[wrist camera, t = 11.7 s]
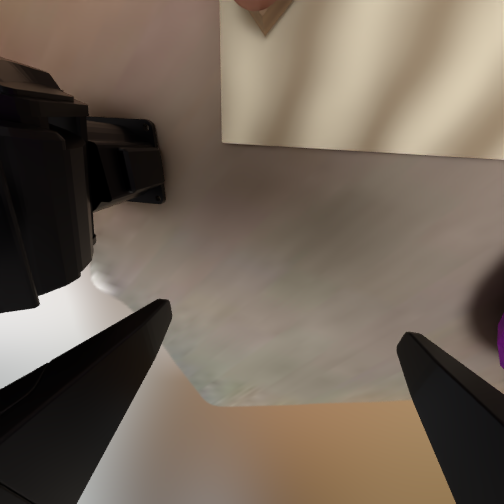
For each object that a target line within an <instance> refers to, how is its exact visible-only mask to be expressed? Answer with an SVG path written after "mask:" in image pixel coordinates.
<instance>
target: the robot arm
mask: <svg viewBox="0 0 504 504" xmlns="http://www.w3.org/2000/svg"><path fill="white" fill-rule="evenodd" d="M86 116H89V114H88V105H87V104H85V103H82V102H80V101H77V100H75V99H74V97H73V96H71V95H69V94H67V93H64V92H63V90H61V89H60V88H59V87H58V85H57V84H56V82H55V81H54V80H53V78H52V77H51V75H50V74H49V73H47V72H44V71H42V70H39V69H37V68H33V67H30V66H27V65H24V64H21V63H18V62H14V61H11V60H8V59H5V58H2V57H0V313H4V312H11V311H17V310H25V309H32V308H36V307H37V306H39V304H40V303H39V299H38V296H39V295H43V294H45V293H48V292H50V291H53V290H55V289H58V288H61V287H63V286H66V285H68V284H70V283H71V282H73V281H75V280H76V279H78V278H79V277H80V276H81V271H83V270H84V268H85V267H86V266H87V265H88V264H89V263H90V262H91V260H92V256H93V251H94V250H93V245H94V244H95V243H96V235H95V234H94V225H93V212H96V211H99V210H102V209H105V208H108V207H110V206H113V205H116V204H119V203H122V202H124V201H131V202H142V203H153V204H162V203H163V202H165V200H166V198H165V191H164V184H163V183H164V175H163V168H162V162H161V155H160V151H159V149H158V145H157V138H156V132H155V127H154V124H153V123H152V122H151V121H149V120H143V119H124V118H104V117H86ZM147 124H148V126H149V130H147V129H146V125H147ZM158 196H159V197H160V198H161V200H159V199H158ZM171 320H172V311H171V306H170V301H169V300H166V299H157V300H155V301H153V302H152V303H150V304H148V305H147V306H145V307H143V308H141V309H140V310H138V311H136V312H134V313H133V314H131V315H129V316H128V317H126V318H124V319H122V320H121V321H119V322H117V323H116V324H114V325H112V326H110V327H108V328H107V329H105V330H103V331H102V332H100V333H98V334H96V335H95V336H93V337H91V338H89V339H88V340H86V341H84V342H83V343H81V344H79V345H77V346H76V347H74V348H72V349H70V350H69V351H67V352H65V353H63V354H62V355H60V356H58V357H56V358H55V359H53V360H52V361H50V363H46V364H44V365H43V366H41V367H39V368H37V369H36V370H34V371H32V372H31V373H29V374H27V375H25V376H23V377H21V378H20V379H18V380H16V381H14V382H13V383H11V384H9V385H7V386H5V387H4V388H2V389H0V504H77V502H78V500H79V498H80V496H81V495H82V493H83V491H84V489H85V487H86V485H87V484H88V482H89V480H90V478H91V476H92V474H93V472H94V471H95V469H96V467H97V465H98V463H99V461H100V459H101V458H102V456H103V454H104V452H105V450H106V448H107V446H108V445H109V443H110V441H111V439H112V437H113V436H114V434H115V432H116V430H117V428H118V426H119V424H120V423H121V421H122V419H123V417H124V415H125V413H126V411H127V409H128V408H129V406H130V404H131V402H132V400H133V399H134V397H135V395H136V393H137V391H138V389H139V387H140V385H141V384H142V382H143V380H144V378H145V376H146V375H147V372H148V370H149V369H150V367H151V365H152V363H153V361H154V360H155V357H156V355H157V353H158V351H159V349H160V346H161V344H162V341H163V339H164V337H165V334H166V332H167V329H168V327H169V325H170V322H171ZM397 355H398V358H399V361H400V364H401V367H402V370H403V373H404V376H405V380H406V383H407V386H408V389H409V392H410V395H411V398H412V400H413V403H414V405H415V408H416V410H417V412H418V414H419V417H420V419H421V422H422V424H423V426H424V428H425V431H426V434H427V436H428V438H429V440H430V443H431V445H432V448H433V450H434V452H435V455H436V457H437V459H438V462H439V464H440V466H441V469H442V471H443V474H444V476H445V478H446V481H447V483H448V485H449V488H450V490H451V492H452V495H453V497H454V500H455V502H456V504H504V394H503V393H501V392H500V391H498V390H497V389H496V388H494V387H493V386H492V385H490V384H489V383H487V382H486V381H485V380H483V379H482V378H481V377H479V376H478V375H476V374H475V373H474V372H472V371H471V370H470V369H468V368H467V367H466V366H464V365H463V364H461V363H460V362H459V361H457V360H456V359H455V358H453V357H452V356H450V355H449V354H448V353H446V352H445V351H444V350H442V349H441V348H439V347H438V346H437V345H435V344H434V343H433V342H431V341H430V340H429V339H427V338H426V337H424V336H423V335H422V334H419V333H414V332H406V333H405V334H404V335H403V337H402V338H401V340H400V342H399V343H398V345H397Z"/></svg>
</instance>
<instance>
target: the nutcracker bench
mask: <svg viewBox="0 0 504 504" xmlns="http://www.w3.org/2000/svg"><path fill="white" fill-rule="evenodd" d="M220 57H221V117H222V143H233V144H250V145H267V146H283V147H300V148H317V149H333V150H350V151H367V152H383V153H400V154H417V155H434V156H450V157H467V158H484V159H500V160H504V0H293V1H292V2H291V4H290V5H289V6H288V7H287V9H286V10H285V11H284V13H283V14H282V15H281V16H280V18H279V19H278V20H277V22H276V23H275V24H274V25H273V27H272V28H271V29H270V31H269V32H268V33H267V35H266V36H264V34H263V33H262V31H261V30H260V28H259V26H258V25H257V23H256V22H255V20H254V19H253V17H252V16H251V14H250V13H249V11H248V10H246V9H244V8H242V7H241V6H239V5H238V4H237V3H236V2H235V1H234V0H220Z"/></svg>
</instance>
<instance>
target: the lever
mask: <svg viewBox="0 0 504 504" xmlns="http://www.w3.org/2000/svg"><path fill="white" fill-rule="evenodd" d="M234 1H235V2H236V3H237V4H238V5H239V6H241V7H242V8H244V9H246V10H248V11H249V13H250V14H251V16H252V17H253V19H254V20H255V22H256V23H257V25H258V26H259V28H260V30H261V31H262V33H263V34H264V36H266V35H267V33H268V32H269V31H270V29H271V28H272V27H273V25H274V24H275V23H276V22H277V20H278V19H279V18H280V16H281V15H282V14H283V13H284V11H285V10H286V9H287V7H288V6H289V5H290V4H291V2H292V1H293V0H234Z"/></svg>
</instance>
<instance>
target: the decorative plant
mask: <svg viewBox="0 0 504 504" xmlns="http://www.w3.org/2000/svg"><path fill="white" fill-rule="evenodd" d="M497 345H498V352H499V359H500V366H501V367H502V368H503V369H504V313H503V315H502V317H501V319H500V321H499V324H498V335H497Z"/></svg>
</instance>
